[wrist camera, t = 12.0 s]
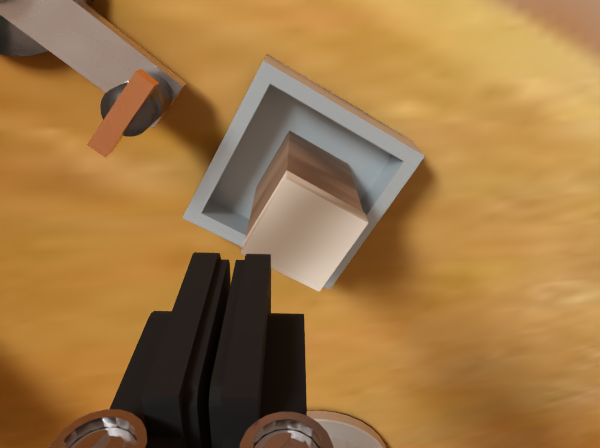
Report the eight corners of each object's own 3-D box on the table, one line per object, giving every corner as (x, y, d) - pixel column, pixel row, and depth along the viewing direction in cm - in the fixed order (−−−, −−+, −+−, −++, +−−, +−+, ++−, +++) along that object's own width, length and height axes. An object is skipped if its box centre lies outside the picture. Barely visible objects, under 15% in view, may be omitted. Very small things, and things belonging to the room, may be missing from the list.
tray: (412, 140, 28) (424, 156, 25) (326, 264, 32) (329, 289, 29) (266, 54, 26) (263, 60, 23) (192, 197, 29) (182, 218, 27)
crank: (-50, -18, 23) (-152, -22, 18) (-15, -93, 22) (-115, -121, 16) (153, 132, 26) (118, 166, 21) (194, 75, 25) (167, 96, 20)
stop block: (349, 163, 28) (368, 223, 20) (313, 218, 29) (319, 291, 22) (289, 129, 27) (286, 178, 20) (255, 187, 28) (240, 253, 21)
